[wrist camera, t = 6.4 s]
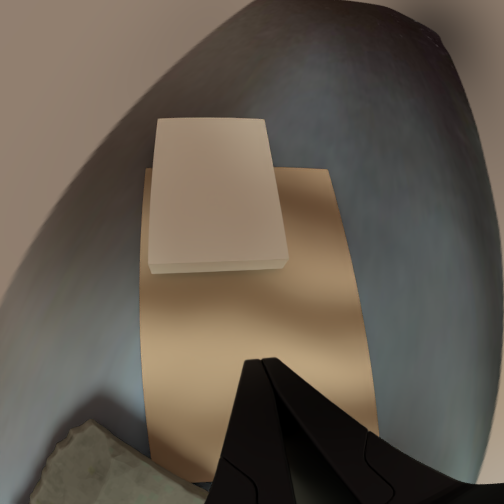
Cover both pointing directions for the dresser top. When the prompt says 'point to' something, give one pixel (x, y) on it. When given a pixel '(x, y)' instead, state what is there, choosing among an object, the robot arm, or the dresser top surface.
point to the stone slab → (108, 473)
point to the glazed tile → (214, 198)
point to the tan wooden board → (251, 329)
